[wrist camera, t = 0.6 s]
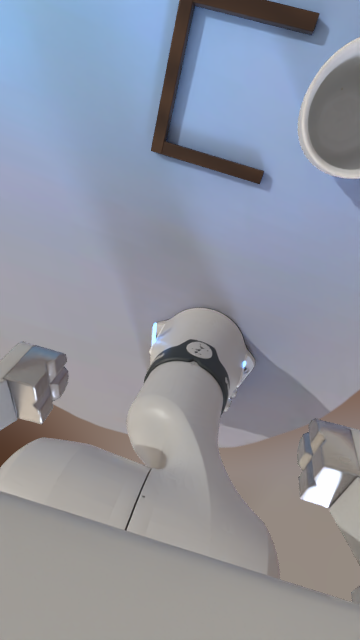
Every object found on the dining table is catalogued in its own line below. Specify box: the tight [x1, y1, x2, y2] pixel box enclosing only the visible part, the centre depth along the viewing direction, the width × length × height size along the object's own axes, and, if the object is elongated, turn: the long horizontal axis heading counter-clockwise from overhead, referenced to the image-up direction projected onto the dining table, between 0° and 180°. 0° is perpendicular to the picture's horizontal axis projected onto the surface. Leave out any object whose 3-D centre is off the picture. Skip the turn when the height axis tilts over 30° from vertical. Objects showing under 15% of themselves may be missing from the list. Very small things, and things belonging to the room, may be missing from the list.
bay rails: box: [151, 0, 319, 184], centre depth 41 cm, size 18×16×1 cm
